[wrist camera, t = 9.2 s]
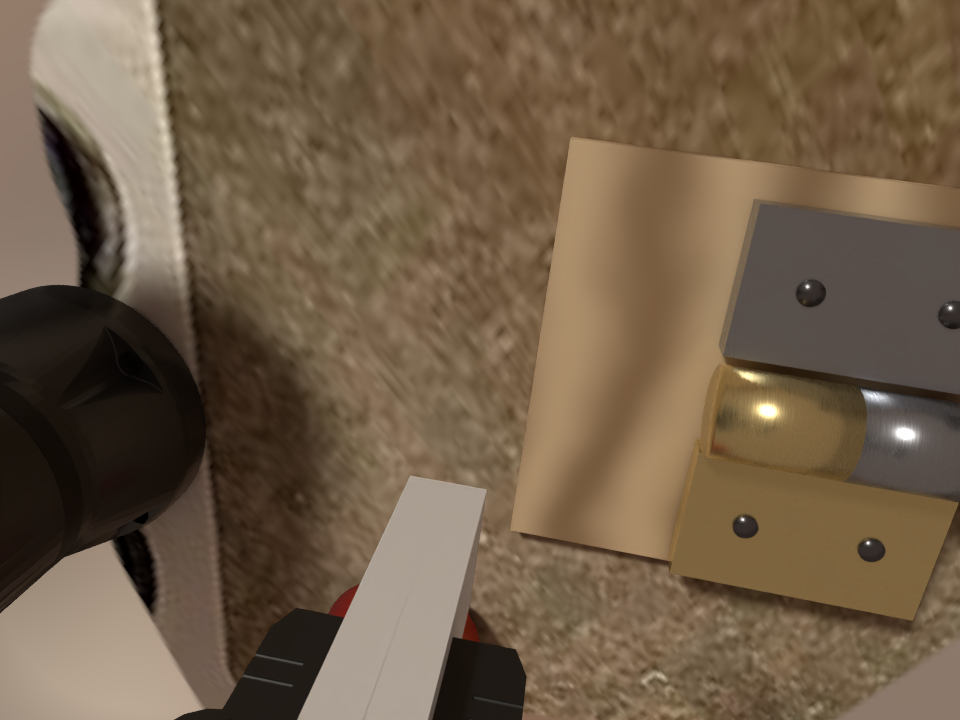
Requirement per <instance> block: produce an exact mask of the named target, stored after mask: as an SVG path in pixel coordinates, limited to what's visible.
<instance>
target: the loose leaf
mask: <svg viewBox="0 0 960 720" xmlns="http://www.w3.org/2000/svg"><path fill="white" fill-rule="evenodd" d="M866 426H867V409H866V402H865V398H864V395H863V393H862V391H861V389H860V388H859V387H857V386H853V385H847V384H841V383H835V382H829V381H822V380H816V379H810V378H804V377H798V376H792V375H786V374H780V373H774V372H767V371H761V370H755V369H749V368H743V367H737V366H731V365H725V364H719V365H718V366H717V367H716V368H715V370H714V372H713V375H712V377H711V380H710V383H709V387H708V390H707V394H706V399H705V404H704V410H703V416H702V425H701V439H696V440H695V444H694V448H693V452H692V456H691V460H690V465H689V469H688V473H687V477H686V481H685V485H684V489H683V493H682V498H681V502H680V506H679V510H678V514H677V518H676V522H675V526H674V531H673V535H672V539H671V543H670V547H669V551H668V555H667V556H668V565H669V573H671V574H676V575H681V576H686V577H691V578H697V579H702V580H707V581H712V582H717V583H722V584H727V585H732V586H737V587H743V588H748V589H753V590H758V591H763V592H768V593H773V594H778V595H783V596H789V597H794V598H799V599H804V600H809V601H814V602H819V603H824V604H830V605H835V606H840V607H845V608H850V609H855V610H860V611H865V612H870V613H876V614H881V615H886V616H891V617H896V618H901V619H906V620H911V621H913V619H914V617H915V614H916V611H917V609H918V606H919V604H920V601H921V599H922V596H923V593H924V591H925V588H926V586H927V583H928V581H929V578H930V576H931V573H932V570H933V568H934V565H935V563H936V560H937V558H938V555H939V553H940V550H941V547H942V545H943V542H944V540H945V537H946V535H947V532H948V530H949V527H950V524H951V522H952V519H953V517H954V514H955V512H956V509H957V507H958V504H959V503H958V502H953V501H947V500H941V499H936V498H930V497H924V496H919V495H913V494H907V493H902V492H896V491H891V490H885V489H879V488H874V487H868V486H862V485H857V484H851V483H846V482H840V481H844V480H846V479H847V478H849V477H850V475H851V474H852V473H853V471H854V469H855V468H856V466H857V464H858V461H859V459H860V456H861V453H862V449H863V445H864V441H865V435H866Z"/></svg>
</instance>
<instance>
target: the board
mask: <svg viewBox="0 0 960 720" xmlns="http://www.w3.org/2000/svg"><path fill="white" fill-rule="evenodd" d="M754 199H761V200H768V201H775V202H782V203H789V204H797V205H804V206H811V207H818V208H825V209H833V210H840V211H847V212H854V213H861V214H869V215H876V216H883V217H890V218H897V219H904V220H912V221H919V222H926V223H933V224H940V225H948V226H955V227H960V189H959V188H952V187H944V186H937V185H929V184H922V183H914V182H907V181H899V180H892V179H884V178H877V177H869V176H862V175H854V174H847V173H839V172H832V171H824V170H817V169H810V168H802V167H795V166H787V165H780V164H772V163H765V162H757V161H750V160H742V159H735V158H727V157H720V156H712V155H705V154H697V153H690V152H682V151H675V150H667V149H660V148H652V147H645V146H637V145H630V144H622V143H615V142H607V141H600V140H593V139H585V138H578V137H571V139H570V146H569V152H568V159H567V165H566V172H565V178H564V185H563V191H562V198H561V204H560V211H559V217H558V224H557V230H556V237H555V243H554V250H553V256H552V263H551V269H550V276H549V282H548V289H547V295H546V302H545V308H544V315H543V321H542V328H541V334H540V341H539V347H538V354H537V360H536V367H535V373H534V380H533V386H532V393H531V399H530V406H529V412H528V419H527V425H526V432H525V438H524V444H523V451H522V457H521V464H520V470H519V477H518V483H517V490H516V496H515V503H514V509H513V516H512V522H511V529H510V530H512V531H517V532H522V533H528V534H533V535H538V536H543V537H548V538H553V539H559V540H564V541H569V542H574V543H579V544H584V545H590V546H595V547H600V548H605V549H610V550H615V551H621V552H626V553H631V554H636V555H641V556H646V557H652V558H657V559H662V560H667V561H668V556H667V555H668V551H669V547H670V543H671V539H672V535H673V531H674V526H675V522H676V518H677V514H678V510H679V506H680V502H681V498H682V493H683V489H684V485H685V481H686V477H687V473H688V469H689V465H690V460H691V456H692V452H693V448H694V444H695V440H696V439H701V425H702V416H703V410H704V404H705V399H706V394H707V390H708V387H709V383H710V380H711V377H712V375H713V372H714V370H715V368H716V367H717V366H718V365H719V364H725V365H731V366H737V367H743V368H749V369H755V370H761V371H767V372H774V373H780V374H786V375H792V376H798V377H804V378H810V379H816V380H822V381H829V382H835V383H841V384H847V385H853V386H859V387H865V388H871V389H877V390H884V391H890V392H896V393H902V394H908V395H914V396H920V397H926V398H932V399H939V400H945V401H951V402H957V403H960V395H959V394H953V393H947V392H941V391H935V390H928V389H922V388H916V387H910V386H904V385H898V384H891V383H885V382H879V381H873V380H867V379H861V378H854V377H848V376H842V375H836V374H830V373H824V372H818V371H811V370H805V369H799V368H793V367H787V366H781V365H774V364H768V363H762V362H756V361H750V360H744V359H738V358H731V357H725V356H723V355H722V353H721V350H720V348H719V341H720V337H721V333H722V328H723V324H724V320H725V316H726V312H727V308H728V304H729V300H730V295H731V291H732V287H733V283H734V279H735V275H736V271H737V267H738V262H739V258H740V254H741V250H742V246H743V242H744V238H745V234H746V229H747V225H748V221H749V217H750V213H751V209H752V205H753V201H754Z"/></svg>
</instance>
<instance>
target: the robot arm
mask: <svg viewBox="0 0 960 720" xmlns="http://www.w3.org/2000/svg"><path fill="white" fill-rule="evenodd" d="M204 446H205V419H204V412H203V407H202V403H201V399H200V395H199V393H198V390H197V387H196V384H195V382H194V380H193V377H192V375H191V374H190V372H189V370H188V368H187V366H186V364H185V363H184V361H183V359H182V358H181V356H180V355H179V353H178V352H177V351H176V349H175V348H174V347H173V345H172V344H171V343H170V342H169V341H168V339H167V338H166V337H165V336H164V335H163V334H162V333H161V332H160V331H159V330H158V329H157V328H156V327H155V326H154V325H153V324H152V323H151V322H150V321H148V320H147V319H146V318H145V317H143V316H142V315H141V314H139V313H138V312H136V311H135V310H134V309H132V308H130V307H129V306H127V305H126V304H124V303H122V302H120V301H118V300H116V299H114V298H112V297H110V296H107V295H105V294H102V293H100V292H97V291H94V290H90V289H87V288H82V287H77V286H69V285H49V286H40V287H35V288H31V289H28V290H25V291H22V292H19V293H16V294H13V295H10V296H7V297H4V298H1V299H0V613H1V612H2V611H3V610H4V609H5V608H7V607H8V606H9V605H10V604H11V603H12V602H13V601H14V600H16V599H17V598H18V597H19V596H20V595H21V594H22V593H24V592H25V591H26V590H27V589H28V588H29V587H30V586H31V585H33V584H34V583H35V582H36V581H37V580H38V579H40V578H41V577H42V576H43V575H44V574H45V573H46V572H47V571H48V570H50V569H51V568H52V567H53V566H54V565H55V564H57V563H58V562H59V561H60V560H61V559H63V558H64V557H66V556H69V555H72V554H74V553H77V552H80V551H83V550H85V549H88V548H91V547H93V546H96V545H99V544H101V543H104V542H107V541H109V540H112V539H114V538H116V537H119V536H123V535H126V534H128V533H130V532H133V531H136V530H138V529H140V528H142V527H144V526H145V525H147V524H148V523H150V522H152V521H153V520H155V519H156V518H157V517H159V516H160V515H161V514H162V513H163V512H164V511H165V510H166V509H167V508H168V507H170V506H171V505H172V504H173V503H174V502H175V501H176V500H177V499H178V498H179V497H180V496H181V495H182V494H183V493H184V492H185V491H186V490H187V488H188V487H189V486H190V484H191V483H192V481H193V479H194V478H195V476H196V474H197V472H198V469H199V466H200V464H201V460H202V457H203V452H204ZM486 492H487V490H486V489H481V488H476V487H470V486H465V485H459V484H454V483H448V482H443V481H437V480H432V479H426V478H421V477H415V476H410V477H409V479H408V481H407V484H406V486H405V488H404V490H403V492H402V494H401V497H400V499H399V501H398V503H397V505H396V507H395V510H394V512H393V514H392V516H391V518H390V520H389V523H388V525H387V527H386V529H385V531H384V533H383V536H382V538H381V540H380V542H379V544H378V546H377V548H376V551H375V553H374V555H373V557H372V559H371V561H370V564H369V566H368V568H367V570H366V572H365V574H364V577H363V579H362V581H361V583H360V585H359V587H358V590H357V592H356V594H355V596H354V598H353V600H352V603H351V605H350V607H349V609H348V611H347V613H346V615H345V617H340V616H335V615H330V614H325V613H320V612H315V611H310V610H305V609H300V608H296V609H294V610H293V611H292V612H290V613H289V614H288V615H286V616H285V617H284V618H282V619H281V620H280V621H278V622H277V623H276V624H274V625H273V626H272V627H271V628H270V630H269V631H268V633H267V635H266V637H265V638H264V640H263V642H262V643H261V645H260V647H259V648H258V650H257V652H256V656H255V657H253V659H252V660H251V662H250V664H249V665H248V667H247V669H246V670H245V672H244V676H243V678H241V679H240V681H239V682H238V684H237V686H236V687H235V689H234V691H233V692H232V694H231V696H230V698H229V699H228V701H227V703H226V704H225V706H224V708H223V709H204V710H200V711H196V712H192V713H187V714H184V715H182V716H180V717H178V718H177V719H175V720H522V713H523V704H524V695H525V686H526V674H525V671H524V669H523V666H522V664H521V661H520V659H519V656H518V654H517V651H516V649H511V648H506V647H501V646H496V645H491V644H486V643H481V642H476V641H471V640H466V639H462V636H463V632H464V627H465V623H466V619H467V615H468V610H469V606H470V599H471V593H472V586H473V579H474V572H475V566H476V559H477V552H478V546H479V539H480V532H481V525H482V519H483V512H484V505H485V499H486Z"/></svg>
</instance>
